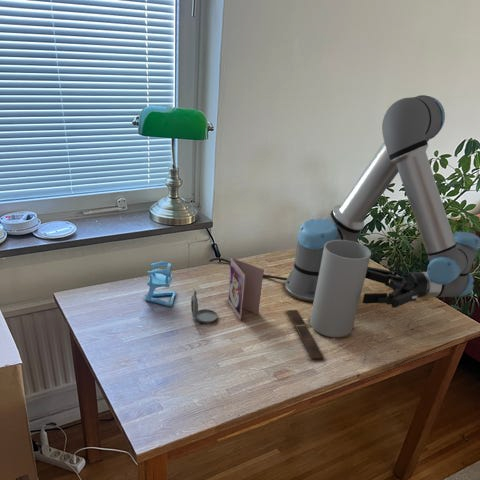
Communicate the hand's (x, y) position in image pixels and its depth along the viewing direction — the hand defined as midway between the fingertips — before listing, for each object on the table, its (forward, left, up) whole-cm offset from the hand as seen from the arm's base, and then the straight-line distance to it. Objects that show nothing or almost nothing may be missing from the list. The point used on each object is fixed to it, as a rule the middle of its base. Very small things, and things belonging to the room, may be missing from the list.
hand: (353, 286), depth 134 cm
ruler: (-5, -13, -13) cm, 20 cm away
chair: (-46, -34, -14) cm, 58 cm away
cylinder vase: (-3, -4, -14) cm, 14 cm away
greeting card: (-26, -18, -14) cm, 34 cm away
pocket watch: (-30, -31, -14) cm, 45 cm away
